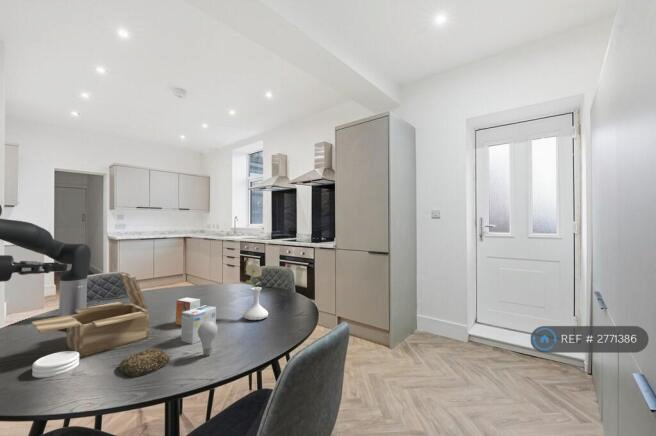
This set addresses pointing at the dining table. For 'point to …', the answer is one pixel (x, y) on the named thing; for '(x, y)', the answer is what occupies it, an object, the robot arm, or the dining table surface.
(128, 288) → the carton flap
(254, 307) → the flower in vase
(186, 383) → the dining table surface
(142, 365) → the bread roll
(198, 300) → the small box
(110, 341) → the carton
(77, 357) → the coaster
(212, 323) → the lightbulb
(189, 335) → the light bulb box
